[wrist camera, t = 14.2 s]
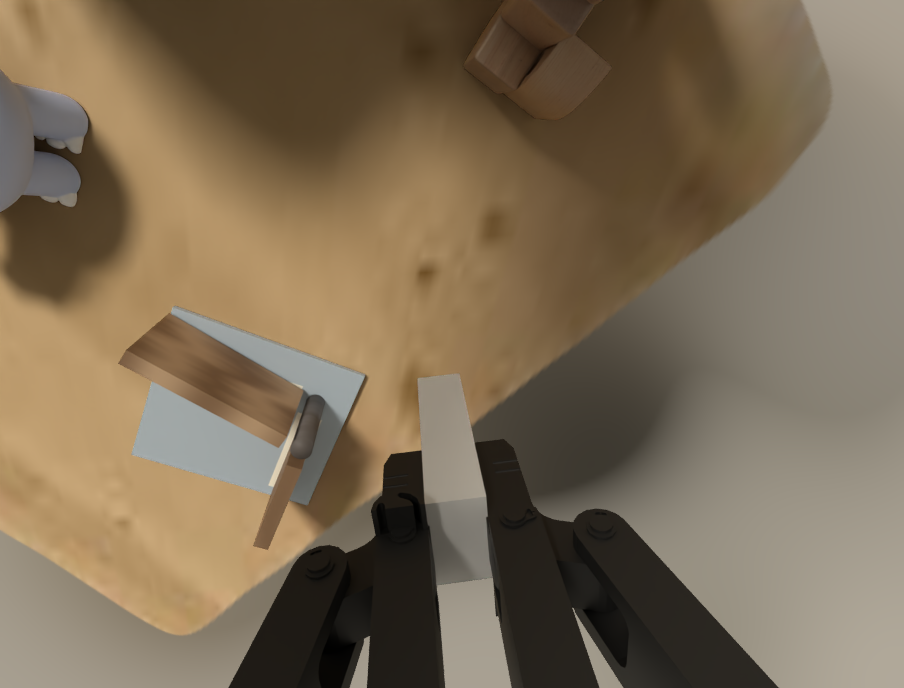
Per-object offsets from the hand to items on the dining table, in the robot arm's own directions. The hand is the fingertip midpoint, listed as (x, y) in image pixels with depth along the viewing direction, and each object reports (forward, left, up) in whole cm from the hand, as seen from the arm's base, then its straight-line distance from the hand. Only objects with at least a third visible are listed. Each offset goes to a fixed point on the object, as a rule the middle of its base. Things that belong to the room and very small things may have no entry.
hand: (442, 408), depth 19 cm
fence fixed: (-3, -21, -24) cm, 32 cm away
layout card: (-8, -20, -24) cm, 32 cm away
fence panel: (-10, -14, -24) cm, 30 cm away
